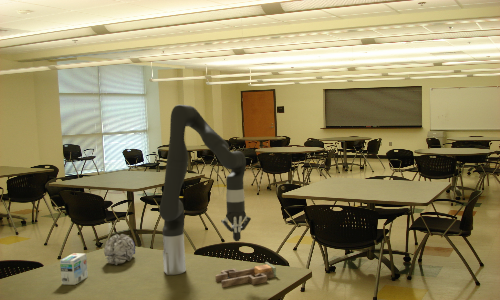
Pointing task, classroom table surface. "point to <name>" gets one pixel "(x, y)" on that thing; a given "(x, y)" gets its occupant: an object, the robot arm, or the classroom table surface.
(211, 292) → the classroom table surface
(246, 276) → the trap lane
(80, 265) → the light bulb box
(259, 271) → the block
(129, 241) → the educational model
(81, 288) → the classroom table surface
